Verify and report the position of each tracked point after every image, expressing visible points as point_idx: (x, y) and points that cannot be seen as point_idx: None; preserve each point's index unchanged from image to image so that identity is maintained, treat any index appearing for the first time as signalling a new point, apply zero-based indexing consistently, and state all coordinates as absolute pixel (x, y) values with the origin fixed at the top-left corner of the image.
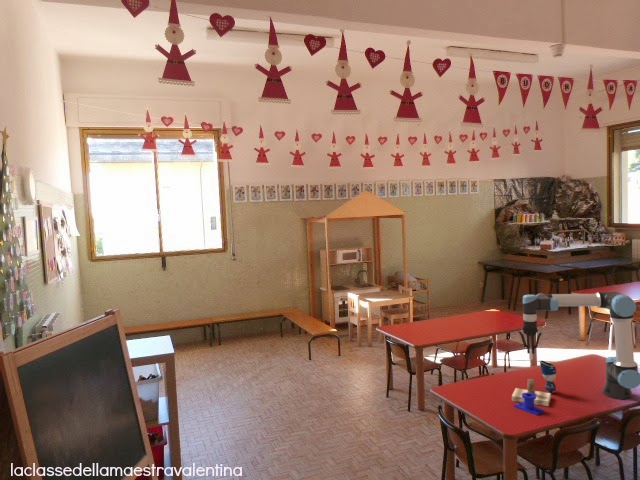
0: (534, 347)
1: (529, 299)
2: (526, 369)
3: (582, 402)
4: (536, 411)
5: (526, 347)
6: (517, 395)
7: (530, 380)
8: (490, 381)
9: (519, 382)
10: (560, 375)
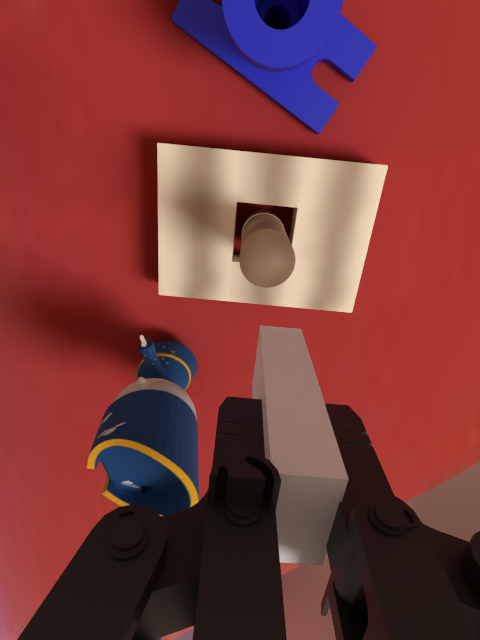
0: (189, 533)
1: None
2: (284, 565)
3: (11, 275)
4: None
5: (428, 528)
6: (349, 187)
7: (271, 250)
8: (462, 414)
9: None
10: None
